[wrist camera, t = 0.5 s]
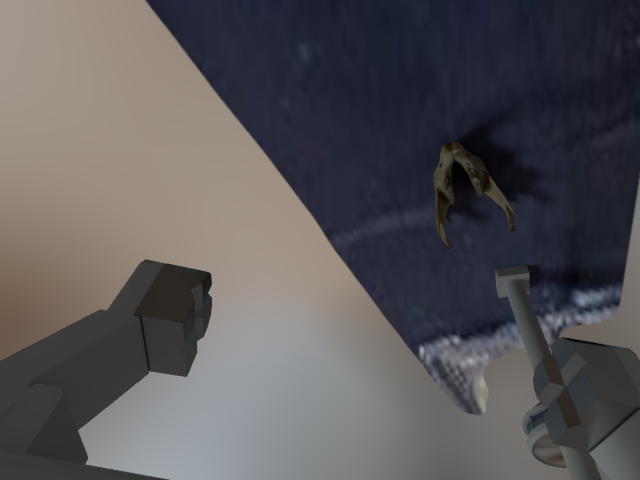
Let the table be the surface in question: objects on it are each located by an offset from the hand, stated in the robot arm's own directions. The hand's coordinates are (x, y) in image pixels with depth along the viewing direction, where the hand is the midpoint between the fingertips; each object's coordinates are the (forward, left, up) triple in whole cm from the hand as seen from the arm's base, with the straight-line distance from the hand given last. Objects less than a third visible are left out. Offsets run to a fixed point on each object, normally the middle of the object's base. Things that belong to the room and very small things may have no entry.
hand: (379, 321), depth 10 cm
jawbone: (+13, +17, -43) cm, 48 cm away
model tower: (+25, +33, -42) cm, 59 cm away
